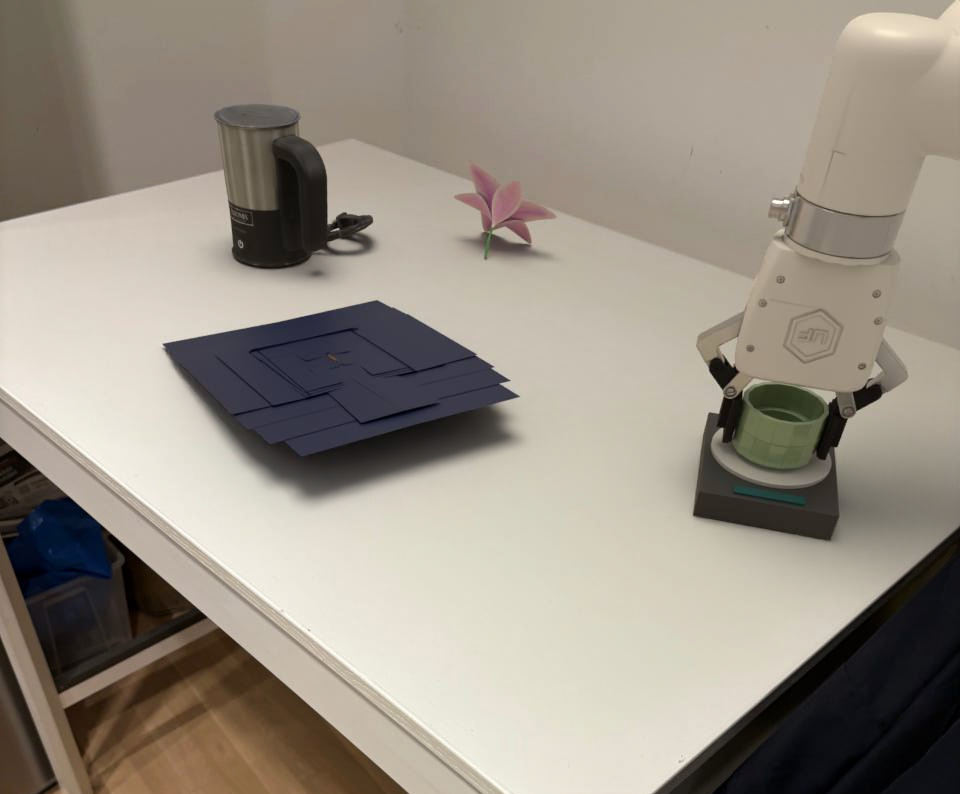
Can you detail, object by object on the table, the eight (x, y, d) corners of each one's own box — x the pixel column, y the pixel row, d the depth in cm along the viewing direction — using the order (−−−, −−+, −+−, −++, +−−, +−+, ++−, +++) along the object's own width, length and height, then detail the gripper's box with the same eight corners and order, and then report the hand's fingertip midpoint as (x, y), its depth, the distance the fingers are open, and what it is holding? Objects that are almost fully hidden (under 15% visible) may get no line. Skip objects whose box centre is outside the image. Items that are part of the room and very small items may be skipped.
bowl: (811, 437, 80) (827, 389, 77) (812, 480, 76) (830, 430, 72) (732, 424, 81) (745, 376, 78) (728, 465, 76) (742, 415, 73)
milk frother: (215, 258, 108) (195, 116, 97) (286, 216, 118) (275, 84, 108) (323, 284, 104) (314, 139, 94) (386, 238, 115) (385, 104, 105)
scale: (825, 456, 84) (835, 428, 82) (830, 540, 74) (841, 511, 72) (702, 435, 85) (709, 407, 83) (692, 515, 76) (700, 486, 74)
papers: (283, 494, 73) (276, 451, 70) (165, 371, 93) (156, 335, 91) (537, 421, 83) (538, 382, 81) (381, 324, 103) (378, 291, 101)
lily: (559, 272, 113) (574, 187, 110) (487, 249, 105) (502, 157, 103) (494, 271, 121) (507, 192, 119) (423, 249, 113) (435, 164, 111)
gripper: (715, 225, 64) (665, 448, 76) (978, 263, 62) (882, 486, 74) (721, 191, 69) (673, 404, 82) (962, 224, 67) (876, 438, 79)
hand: (773, 441), depth 78 cm, fingers open, 7 cm apart
